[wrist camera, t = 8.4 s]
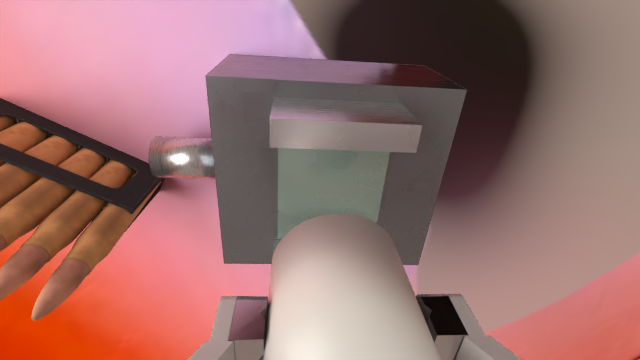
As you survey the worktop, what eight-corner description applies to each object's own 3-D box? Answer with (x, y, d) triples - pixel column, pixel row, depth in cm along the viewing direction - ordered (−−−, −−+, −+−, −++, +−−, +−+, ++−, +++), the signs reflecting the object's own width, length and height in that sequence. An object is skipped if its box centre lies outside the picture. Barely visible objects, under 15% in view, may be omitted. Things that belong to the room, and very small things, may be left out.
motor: (424, 65, 21) (500, 109, 13) (394, 210, 26) (435, 303, 18) (160, 49, 20) (68, 88, 12) (184, 206, 25) (133, 304, 17)
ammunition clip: (168, 171, 24) (65, 312, 13) (159, 190, 24) (55, 340, 14) (-5, 94, 20) (-325, 201, 10) (-10, 120, 21) (-311, 244, 11)
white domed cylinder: (407, 214, 12) (491, 375, 7) (386, 308, 15) (438, 481, 9) (270, 212, 12) (251, 384, 7) (272, 310, 14) (259, 492, 9)
